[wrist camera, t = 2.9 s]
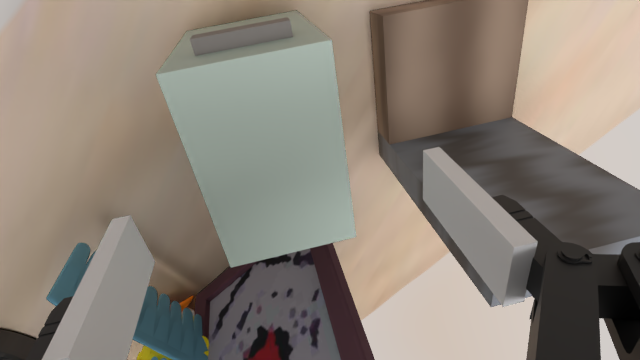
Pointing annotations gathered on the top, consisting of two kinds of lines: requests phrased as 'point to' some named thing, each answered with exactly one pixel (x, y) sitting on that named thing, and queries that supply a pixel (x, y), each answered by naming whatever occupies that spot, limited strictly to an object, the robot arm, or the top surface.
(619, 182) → the grey bookend
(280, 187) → the cabinet box
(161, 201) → the top surface
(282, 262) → the picture frame
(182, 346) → the blue toy animal
